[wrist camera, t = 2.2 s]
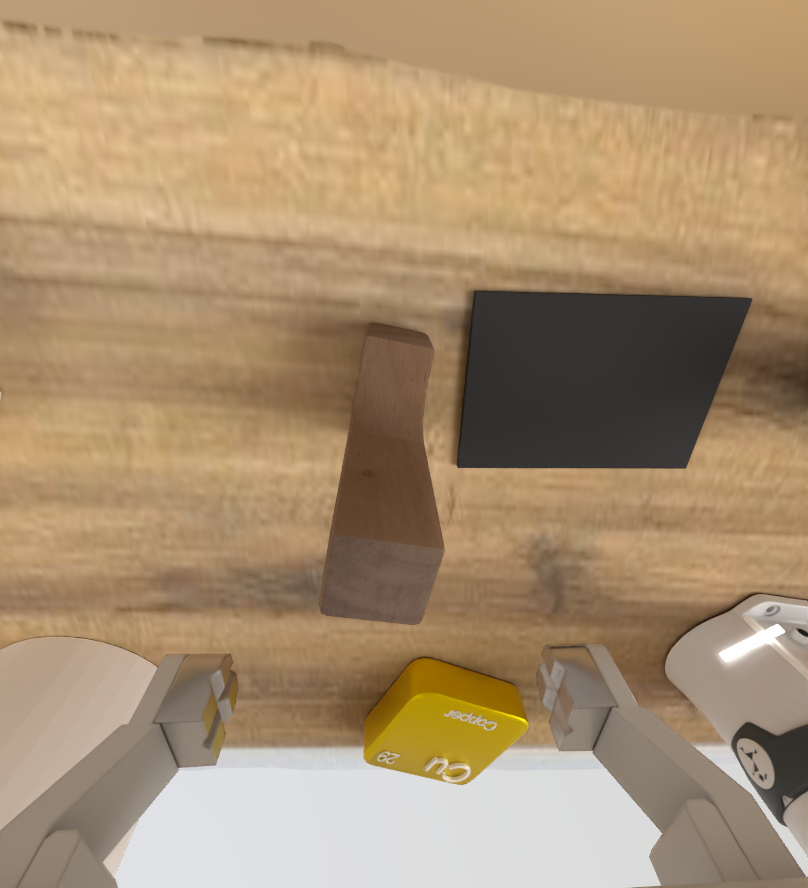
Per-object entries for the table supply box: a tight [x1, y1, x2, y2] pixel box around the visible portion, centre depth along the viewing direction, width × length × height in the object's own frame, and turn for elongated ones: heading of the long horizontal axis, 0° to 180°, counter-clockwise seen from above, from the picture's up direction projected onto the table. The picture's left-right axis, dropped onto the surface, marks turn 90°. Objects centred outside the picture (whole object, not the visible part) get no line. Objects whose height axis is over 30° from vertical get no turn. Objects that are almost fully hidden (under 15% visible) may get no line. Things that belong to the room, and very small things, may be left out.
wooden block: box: [319, 323, 445, 625], centre depth 23 cm, size 9×4×18 cm, turn 168°
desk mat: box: [457, 291, 752, 468], centre depth 32 cm, size 20×14×1 cm
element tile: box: [364, 658, 529, 785], centre depth 48 cm, size 15×15×5 cm
